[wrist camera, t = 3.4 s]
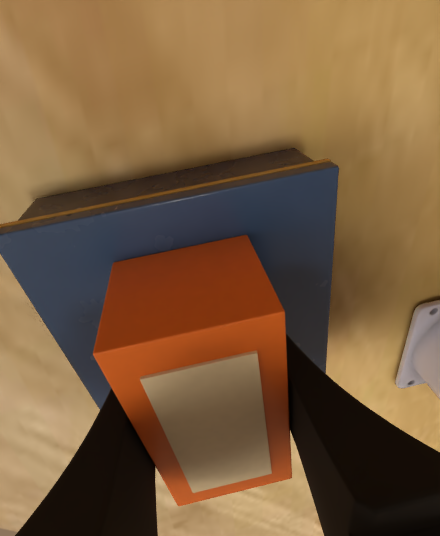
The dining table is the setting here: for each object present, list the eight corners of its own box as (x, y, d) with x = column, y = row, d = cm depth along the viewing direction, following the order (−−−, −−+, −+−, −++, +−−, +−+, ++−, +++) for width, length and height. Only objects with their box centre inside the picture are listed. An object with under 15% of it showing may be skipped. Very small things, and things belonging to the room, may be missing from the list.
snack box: (112, 261, 11) (90, 358, 7) (247, 233, 11) (286, 314, 7) (173, 412, 16) (178, 510, 12) (264, 391, 16) (293, 481, 13)
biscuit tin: (299, 141, 13) (340, 165, 10) (300, 347, 20) (324, 396, 17) (27, 194, 12) (-13, 236, 10) (127, 387, 19) (121, 445, 17)
